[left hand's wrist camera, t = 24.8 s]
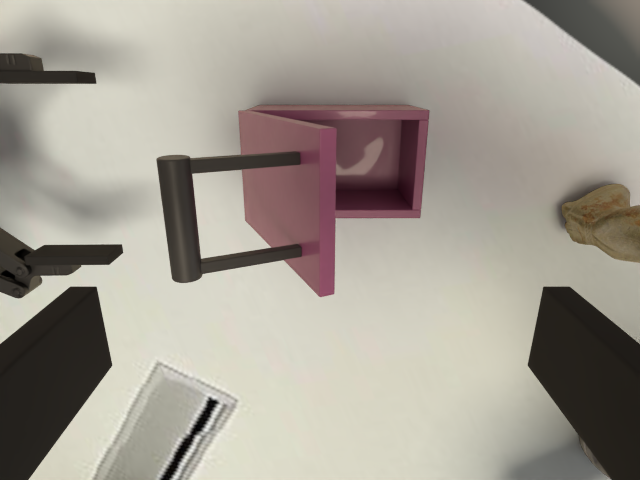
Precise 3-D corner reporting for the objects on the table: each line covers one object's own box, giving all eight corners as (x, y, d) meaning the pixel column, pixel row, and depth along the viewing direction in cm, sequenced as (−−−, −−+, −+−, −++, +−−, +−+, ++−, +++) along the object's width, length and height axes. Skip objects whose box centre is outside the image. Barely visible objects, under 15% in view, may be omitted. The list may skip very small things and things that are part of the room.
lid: (337, 128, 22) (158, 136, 18) (334, 294, 25) (182, 327, 22) (249, 110, 36) (138, 113, 32) (255, 219, 39) (154, 232, 35)
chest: (409, 105, 44) (429, 110, 36) (402, 194, 47) (420, 218, 39) (258, 105, 44) (245, 110, 36) (262, 194, 47) (251, 218, 39)
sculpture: (622, 221, 48) (747, 278, 34) (558, 241, 49) (654, 305, 35) (616, 173, 46) (746, 212, 32) (550, 195, 47) (647, 242, 33)
